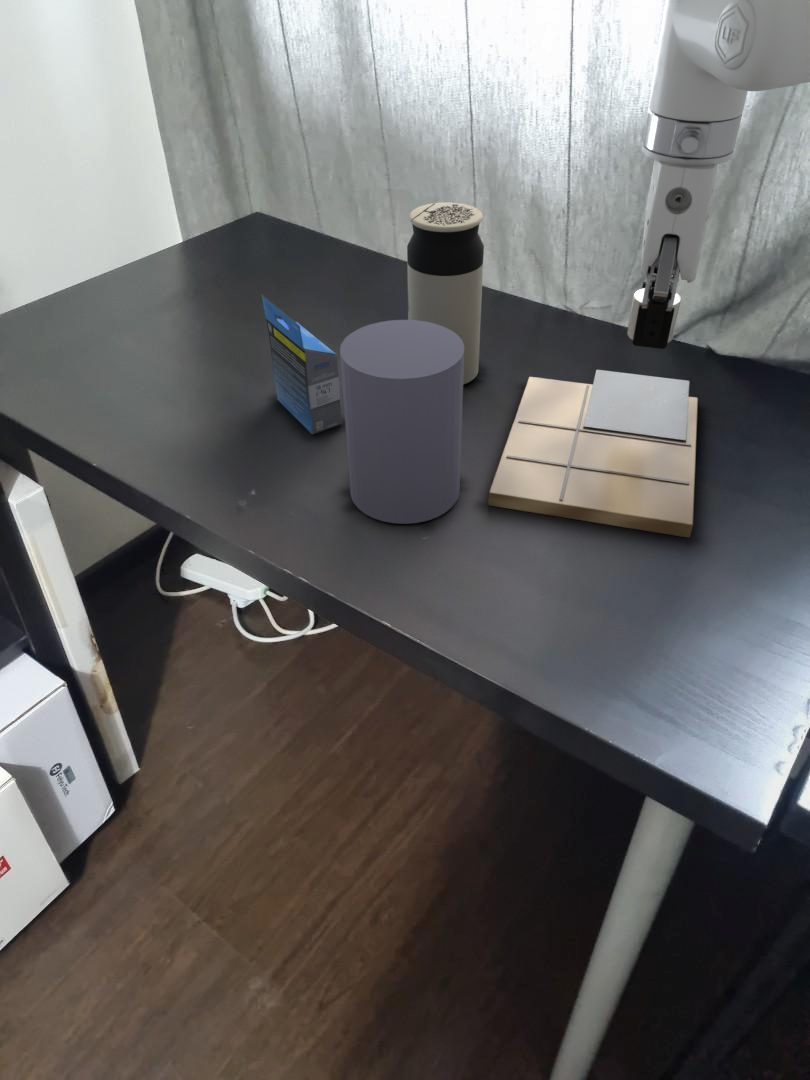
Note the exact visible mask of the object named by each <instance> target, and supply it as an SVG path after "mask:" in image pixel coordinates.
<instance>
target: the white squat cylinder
mask: <svg viewBox="0 0 810 1080" xmlns="http://www.w3.org/2000/svg"><path fill="white" fill-rule="evenodd" d="M653 288H655V287H653ZM651 289H652V287H651ZM644 292H645V288H642V287H641V288H640V289H638V290H636V291H635V292H634V293H633V297H632V303H631V309H630V314H629V319H628V320H629V321H628V325H627V331H626V335H627V337H628V338H629V339H630V340H632V341H633V337H634V331H635V326H636V320H637V315H638V310H639V304H642V303H643V298H644ZM681 303H682V298H681V295H680V294H678V293H677V292H676V293H675V298H674V303H673V308H675V309H674V315H673V319H672V324H671V329H670V333H669V338H668V343H667V344H669V343H670V342H672V340H673V339H674V334H675V330H676V324H677V321H678V316H679V315H678V314H679V312H680V311H679V310H680V307H681Z"/></svg>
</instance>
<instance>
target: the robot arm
mask: <svg viewBox="0 0 810 1080" xmlns="http://www.w3.org/2000/svg"><path fill="white" fill-rule="evenodd" d="M658 40H659V41H658V47H657V53H656V60H655V65H654V71H653V77H652V83H651V89H650V90H651V91H650V96H649V102H648V109H647V115H646V120H645V127H644V131H643V132H644V133H643V140H642V146H641V152H642V154H643V155H644V156H645V157H646V158H649V159H651V160H653V164H652V165H653V166H652V172H651V178H650V184H649V190H648V197H647V203H646V210H645V217H644V226H643V236H642V245H641V246H642V247H641V261H640V275H642V277H643V279H645V281H643V282H642V287H641V289H642V288H645V292H644V298H643V303H642V304H639V310H638V315H637V320H636V326H635V331H634V337H633V340H632V345H633V346H635V347H643V348H651V349H660V350H664V349H666V348H667V346H668V344H669V343H668V338H669V333H670V329H671V324H672V319H673V315H674V309H675V308H673V303H674V298H675V293H677V288H678V283H679V280H680V279H681V281H687V283H688V284H690V283H692V282H694V281H695V280H696V278H697V273H698V269H699V264H700V259H701V253H702V248H703V243H704V239H705V234H706V229H707V226H708V220H709V215H710V211H711V206H712V202H713V196H714V191H715V185H716V179H717V174H718V165H720V164H724V163H727V162H728V161H730V160H732V158H733V156H734V151H735V147H736V143H737V139H738V134H739V130H740V126H741V122H742V117H743V112H744V109H745V104H746V100H747V96H748V92H763V91H770V90H776V89H782V88H789V87H793V86H798V85H801V84H807V83H810V0H665V3H664V9H663V16H662V23H661V28H660V34H659V39H658ZM651 287H652V289H651ZM653 287H655V288H653Z"/></svg>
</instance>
